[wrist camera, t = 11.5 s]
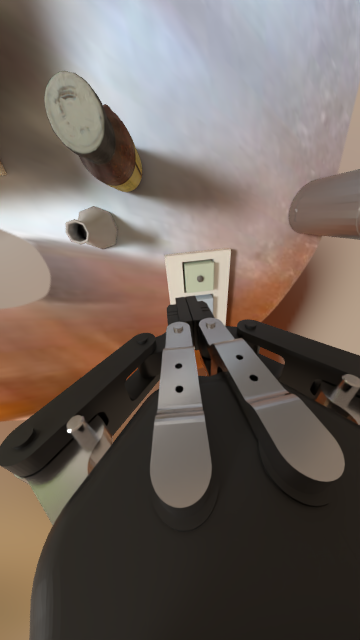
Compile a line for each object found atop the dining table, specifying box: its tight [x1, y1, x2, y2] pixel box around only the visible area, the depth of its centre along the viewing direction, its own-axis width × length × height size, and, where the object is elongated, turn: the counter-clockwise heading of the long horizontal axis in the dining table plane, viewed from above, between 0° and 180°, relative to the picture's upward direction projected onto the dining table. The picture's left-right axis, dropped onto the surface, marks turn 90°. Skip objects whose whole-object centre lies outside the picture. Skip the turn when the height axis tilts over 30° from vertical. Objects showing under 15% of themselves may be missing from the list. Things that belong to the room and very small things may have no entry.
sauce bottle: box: [44, 71, 142, 192], centre depth 20 cm, size 6×6×20 cm
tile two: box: [195, 294, 213, 314], centre depth 41 cm, size 6×6×3 cm
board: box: [164, 248, 231, 349], centre depth 42 cm, size 14×26×2 cm, turn 5°
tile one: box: [184, 260, 214, 293], centre depth 37 cm, size 6×6×3 cm
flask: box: [66, 206, 118, 249], centre depth 28 cm, size 7×7×10 cm
